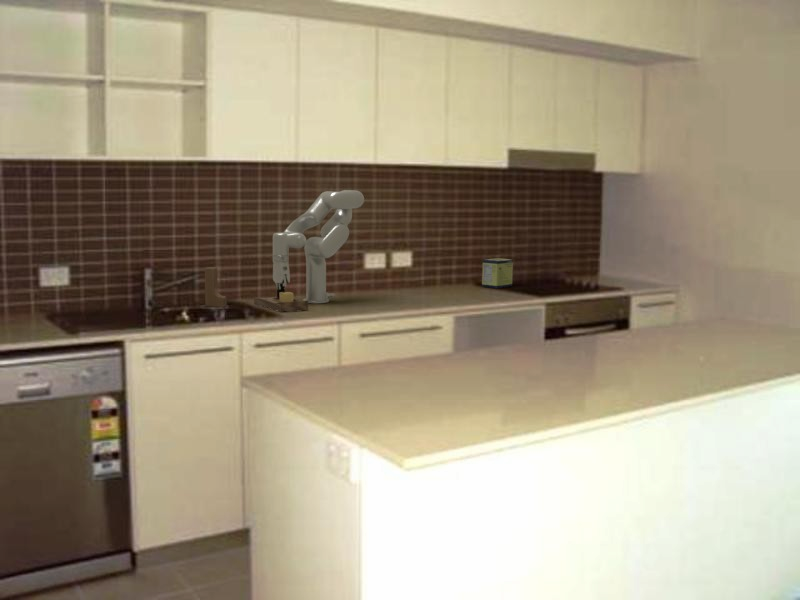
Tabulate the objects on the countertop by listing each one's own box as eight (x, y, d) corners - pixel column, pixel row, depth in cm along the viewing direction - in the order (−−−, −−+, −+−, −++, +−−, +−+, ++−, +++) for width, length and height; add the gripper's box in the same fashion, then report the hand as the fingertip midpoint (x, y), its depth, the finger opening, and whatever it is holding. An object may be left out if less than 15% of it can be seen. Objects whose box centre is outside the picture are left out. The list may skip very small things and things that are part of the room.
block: (289, 300, 416) (289, 291, 416) (293, 301, 412) (293, 293, 411) (279, 300, 414) (279, 292, 413) (283, 302, 410) (283, 293, 409)
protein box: (512, 286, 501) (513, 259, 499) (496, 288, 490) (497, 260, 487) (497, 284, 508) (498, 257, 506) (481, 286, 497) (482, 259, 494)
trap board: (280, 301, 427) (280, 292, 426) (308, 310, 402) (308, 300, 402) (254, 303, 420) (254, 294, 419) (280, 312, 395) (280, 302, 394)
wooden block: (226, 306, 411) (226, 267, 409) (223, 307, 407) (223, 268, 404) (208, 305, 412) (208, 267, 410) (205, 306, 408) (204, 268, 406)
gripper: (294, 260, 410) (294, 299, 412) (281, 257, 422) (281, 295, 425) (279, 260, 406) (279, 300, 408) (267, 257, 418) (267, 296, 421)
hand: (280, 297), depth 417 cm, fingers closed
